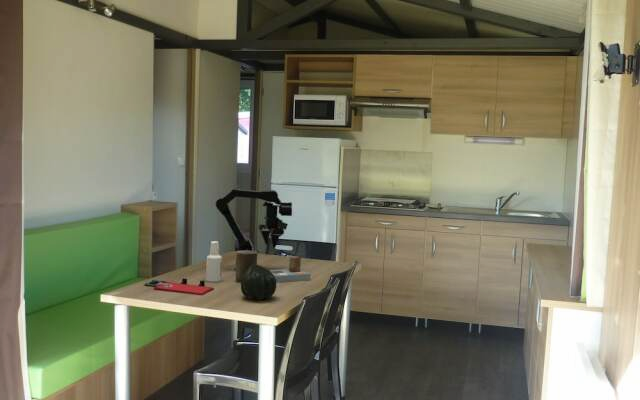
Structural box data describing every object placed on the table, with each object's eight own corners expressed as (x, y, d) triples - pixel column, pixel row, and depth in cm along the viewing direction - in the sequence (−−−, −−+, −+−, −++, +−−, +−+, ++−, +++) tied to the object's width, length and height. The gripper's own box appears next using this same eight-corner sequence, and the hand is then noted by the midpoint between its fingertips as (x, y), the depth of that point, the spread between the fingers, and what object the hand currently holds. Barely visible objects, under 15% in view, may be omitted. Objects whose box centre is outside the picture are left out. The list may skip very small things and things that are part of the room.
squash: (288, 287, 243) (272, 256, 249) (261, 293, 232) (245, 261, 238) (270, 304, 251) (254, 274, 257) (243, 311, 240) (228, 280, 246)
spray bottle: (223, 280, 274) (225, 241, 273) (215, 282, 268) (216, 243, 267) (211, 278, 277) (213, 240, 276) (202, 280, 271) (204, 241, 269)
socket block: (276, 282, 274) (276, 275, 274) (264, 276, 286) (265, 269, 285) (310, 280, 283) (310, 273, 283) (297, 274, 295) (298, 267, 294)
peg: (292, 278, 285) (293, 257, 284) (288, 276, 289) (289, 256, 288) (299, 277, 287) (300, 257, 286) (296, 276, 291) (297, 256, 290)
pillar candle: (252, 284, 269) (254, 251, 268) (232, 281, 271) (233, 249, 270) (258, 279, 279) (260, 248, 278) (239, 277, 281) (240, 246, 280)
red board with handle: (155, 281, 266) (137, 288, 252) (155, 274, 266) (137, 282, 252) (217, 288, 259) (202, 297, 245) (217, 282, 259) (202, 290, 245)
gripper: (294, 217, 292) (292, 248, 293) (278, 212, 308) (277, 242, 309) (273, 217, 286) (272, 249, 288) (258, 213, 302) (257, 243, 304)
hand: (270, 246), depth 297 cm, fingers open, 9 cm apart
